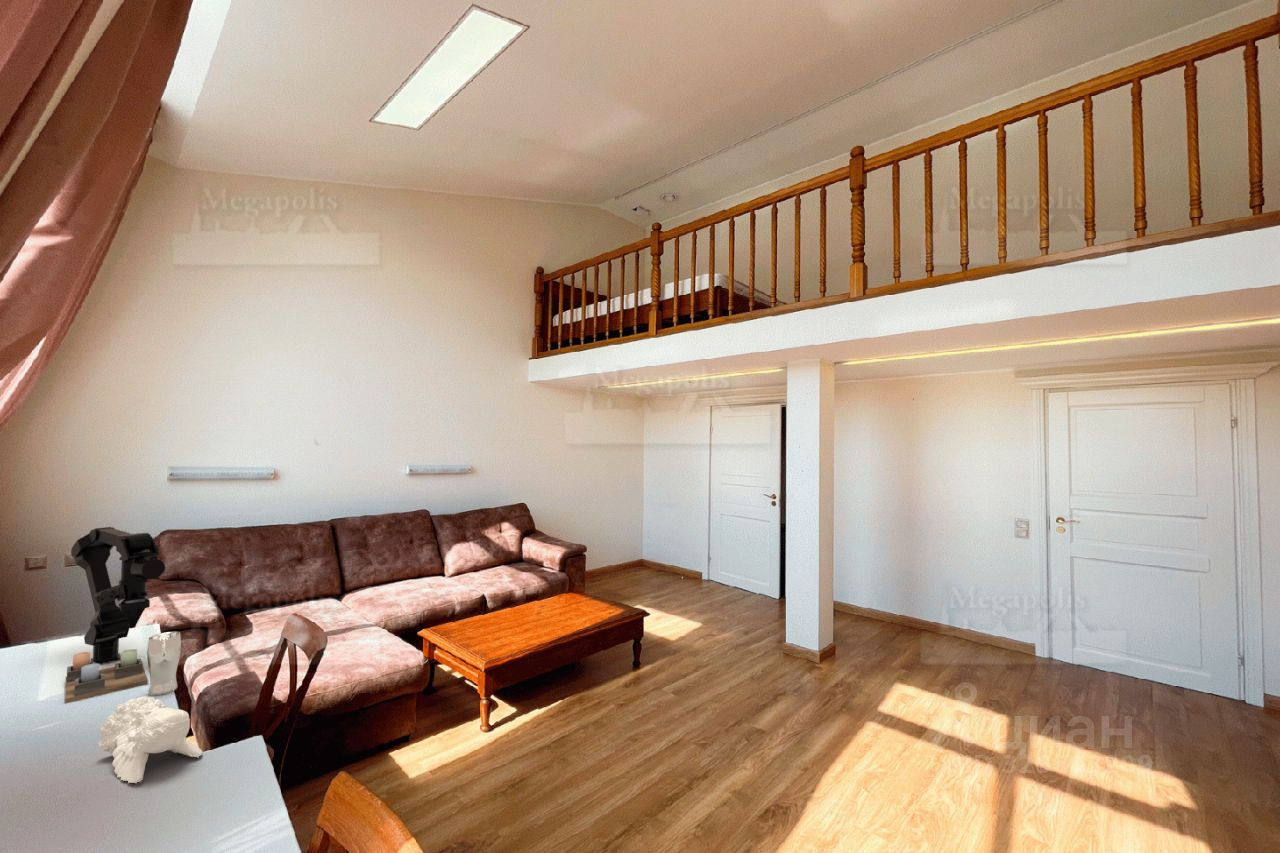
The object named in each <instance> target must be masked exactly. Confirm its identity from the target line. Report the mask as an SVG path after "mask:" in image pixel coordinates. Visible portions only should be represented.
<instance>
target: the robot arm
mask: <svg viewBox="0 0 1280 853" xmlns="http://www.w3.org/2000/svg"><path fill="white" fill-rule="evenodd" d="M114 547H115V551H116V552H118V553H119V555H120V557H119V561H121V568H120V569H121V571H120V573H121V576H120V580H118V584H117V585H114V586H112V583H111V579H110V575H109V572H108V567H107V561H108V560H109V558H110V556H111V550H113V548H114ZM159 554H160V553H159V547H158V546H157V544H156V542H155V540H154V537H153V536H151V534H150V533H149V532H140V533H139V532H136V533H130V532H127V531H123V530H120V529H116V528H115V527H112V526H107V527H106V526H105V527H97V528H94V529H91V530H90V531H89V533H88V534H85V535H84V536H82V537H80V538H79V539H77V540H76V541H75V542H74V544H73V545H72V547H71V550H70V555H71V556H72V558H73V559H74V562H75V564H76V566H79V567H80V568H82V569H83V570H84V572H85V574H86V575H85V576H86V580H87V583H88V588H89V593H90V596H91V600H92V605H93V608H94V615H93V617H92V618H91V621H90V623H89V624H90V628H89V629H88V630H87V631H86V633H85V635H84V637H83V640H84V644H85V645H88V646H93V647H92V658H91V657H90V662H94V661H95V663H98V664H99V665H103V664H106V663H111V662H117V661H121V652H119V646H120V643H119V642H120V639H123V638H128V635H129V631H130V629H134V628H136V626H137V624H138V622H139V621H140V618H141V616H142V614H143V613H144V611H145V610H146V609H148V608H150V607H151V606H150V603H151V601H150V598H148V597H147V596H148V592H147V582H148V580H154V579H157V578H159V577H161V576H162V575H163V574H164V572H165V570H166V565H165V563H164V562H163V560H160V559H159V558H158V556H159ZM116 600H117V602H120V601H121V602H120V603H119V604H118V605H117V603H116Z"/></svg>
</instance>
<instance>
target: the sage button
mask: <svg viewBox="0 0 1280 853" xmlns="http://www.w3.org/2000/svg"><path fill="white" fill-rule="evenodd" d="M120 658H121V659H120V663H121V667H126V666H131V665H136V664H137V659H138V649H127V650H123V651H121V652H120Z"/></svg>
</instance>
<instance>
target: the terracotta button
mask: <svg viewBox="0 0 1280 853" xmlns="http://www.w3.org/2000/svg"><path fill="white" fill-rule="evenodd" d="M90 662H91V652H89V651H85V652H80V653H75V654H73V655H72V666H73V671H74V670H79V669H81V668H82V667H83V666H85V665H89V664H90Z"/></svg>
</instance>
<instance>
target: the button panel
mask: <svg viewBox="0 0 1280 853" xmlns="http://www.w3.org/2000/svg"><path fill="white" fill-rule="evenodd" d="M90 664H95V661H94V662H91V661H90ZM148 681H149V679H148V677H147V673H146V670H145V667H144V663H143V661H142V658H137V664H136V665H131V666H126V667H121V662H117V663H114V666H111V667H106V668H101V669H99V680H94V681H90V682H85V683H81V669H79V670H74V671H73V665H69V666H67V668H66V676H65V688H64V692H65V693H64V694H65V695H64V704H69V703H72V702H77V701H81V700H85V699H90V698H95V697H98V696H99V697H100V696H103V695H107V694H113V693H116V692H120V691H123V690H128V689H132V688H133V689H134V688H137V687H142V686H146V685H148V684H149V682H148ZM102 694H103V695H102ZM94 696H95V697H94Z"/></svg>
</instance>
